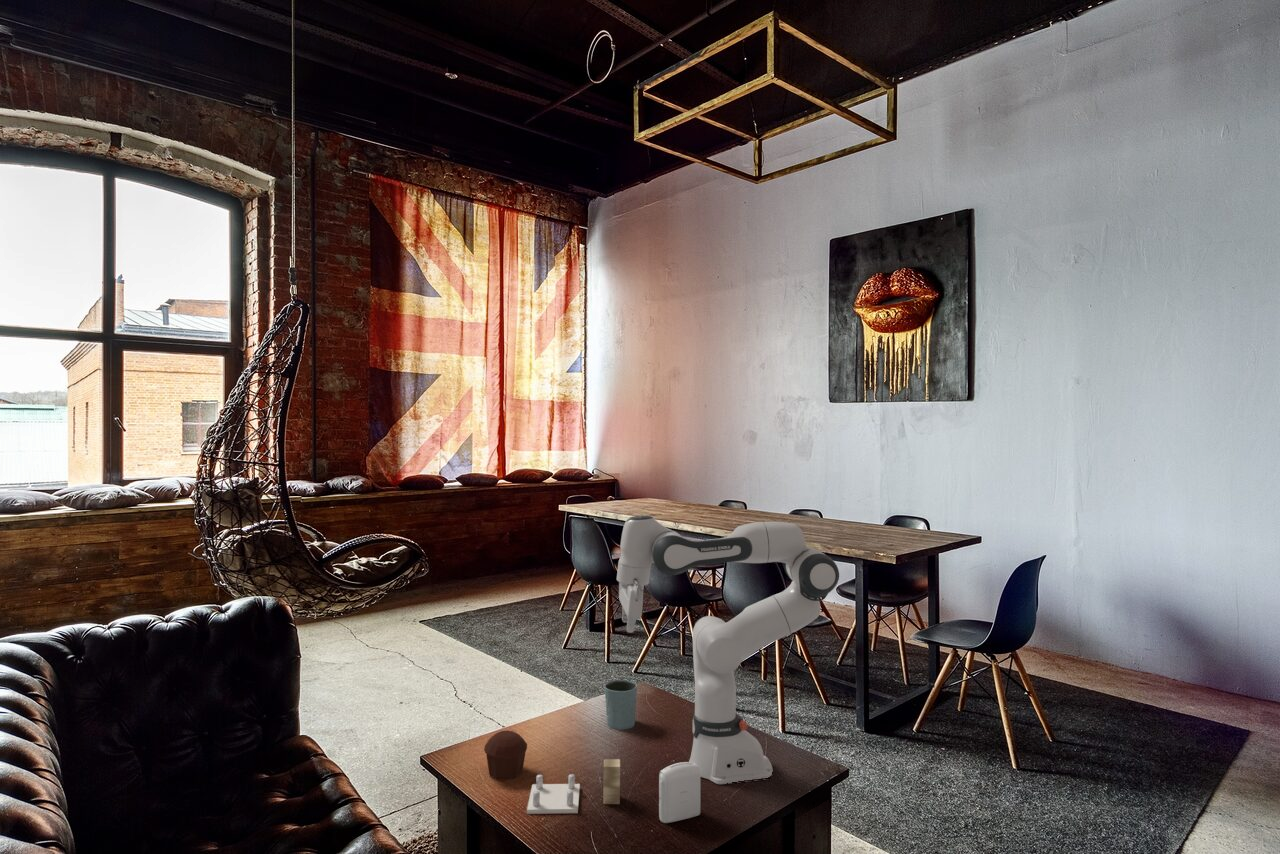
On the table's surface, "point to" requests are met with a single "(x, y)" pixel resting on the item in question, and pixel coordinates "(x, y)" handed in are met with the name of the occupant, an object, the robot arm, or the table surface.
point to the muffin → (505, 754)
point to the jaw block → (611, 781)
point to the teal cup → (620, 704)
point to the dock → (554, 797)
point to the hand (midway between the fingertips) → (627, 626)
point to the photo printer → (679, 792)
